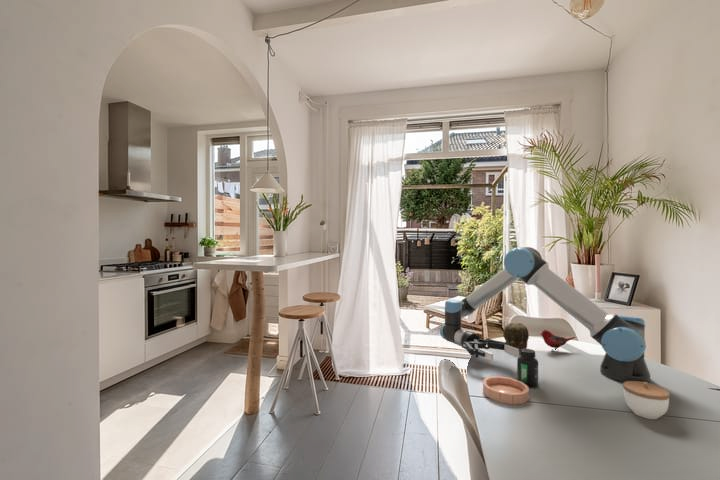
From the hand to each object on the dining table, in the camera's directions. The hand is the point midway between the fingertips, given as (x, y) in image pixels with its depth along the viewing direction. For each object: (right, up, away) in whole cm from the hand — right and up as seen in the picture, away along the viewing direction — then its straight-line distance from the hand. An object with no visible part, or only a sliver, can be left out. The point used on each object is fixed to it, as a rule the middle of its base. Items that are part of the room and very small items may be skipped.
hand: (505, 355), depth 132 cm
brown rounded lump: (+18, -8, +31) cm, 36 cm away
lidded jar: (+29, -8, -30) cm, 42 cm away
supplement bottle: (+4, -8, -9) cm, 12 cm away
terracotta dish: (-7, -7, -17) cm, 20 cm away
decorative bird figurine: (+36, -8, +28) cm, 46 cm away
